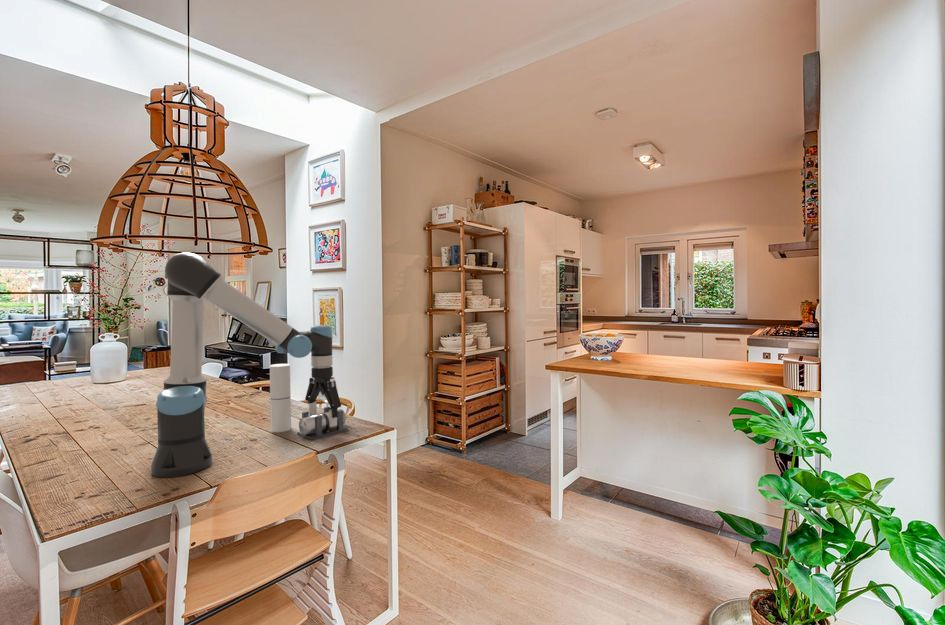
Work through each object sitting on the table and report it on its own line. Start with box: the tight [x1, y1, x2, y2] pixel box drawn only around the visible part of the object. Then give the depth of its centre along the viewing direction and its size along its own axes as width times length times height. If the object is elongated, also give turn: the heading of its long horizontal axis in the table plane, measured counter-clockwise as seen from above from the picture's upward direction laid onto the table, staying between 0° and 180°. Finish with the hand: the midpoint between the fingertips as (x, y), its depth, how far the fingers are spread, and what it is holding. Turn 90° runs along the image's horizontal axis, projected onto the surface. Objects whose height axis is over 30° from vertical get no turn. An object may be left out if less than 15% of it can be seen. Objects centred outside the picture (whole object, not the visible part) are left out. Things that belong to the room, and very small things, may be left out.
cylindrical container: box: [269, 363, 292, 433], centre depth 166 cm, size 7×7×25 cm
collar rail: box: [297, 406, 349, 441], centre depth 162 cm, size 15×10×8 cm, turn 141°
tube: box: [298, 408, 347, 435], centre depth 162 cm, size 16×6×6 cm, turn 141°
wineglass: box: [317, 376, 338, 407], centre depth 176 cm, size 8×8×18 cm
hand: (322, 422), depth 162 cm, fingers open, 13 cm apart
